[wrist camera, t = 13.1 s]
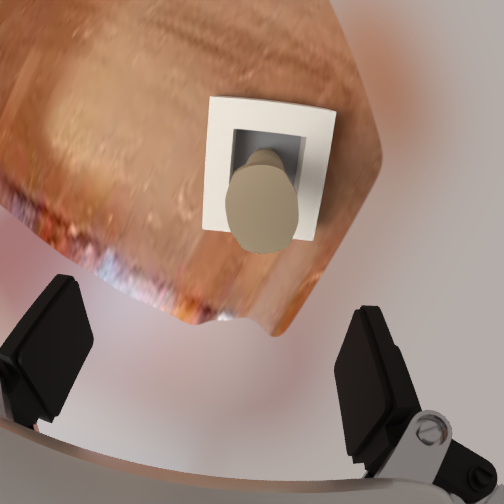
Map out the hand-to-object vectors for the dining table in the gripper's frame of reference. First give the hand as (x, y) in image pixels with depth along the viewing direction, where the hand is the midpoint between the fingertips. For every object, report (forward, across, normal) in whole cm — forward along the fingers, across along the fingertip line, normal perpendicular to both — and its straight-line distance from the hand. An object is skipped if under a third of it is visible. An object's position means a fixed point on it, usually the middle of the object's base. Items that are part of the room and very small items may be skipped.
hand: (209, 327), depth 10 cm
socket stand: (+28, -2, +1) cm, 29 cm away
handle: (+28, -2, +1) cm, 28 cm away
